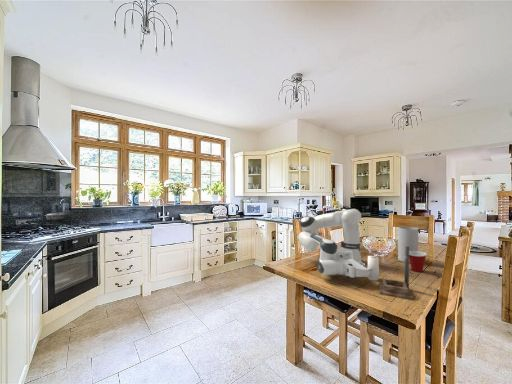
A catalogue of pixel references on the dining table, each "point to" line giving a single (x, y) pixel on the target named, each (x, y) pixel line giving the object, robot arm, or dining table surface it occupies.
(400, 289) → the roll holder
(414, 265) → the plastic cup
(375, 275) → the paper roll
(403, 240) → the cylinder vase
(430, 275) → the dining table surface
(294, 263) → the dining table surface
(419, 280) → the dining table surface
